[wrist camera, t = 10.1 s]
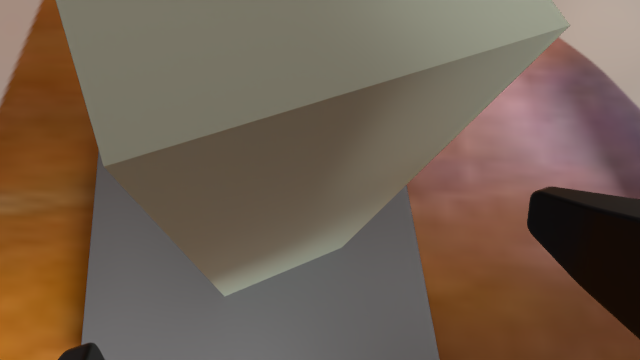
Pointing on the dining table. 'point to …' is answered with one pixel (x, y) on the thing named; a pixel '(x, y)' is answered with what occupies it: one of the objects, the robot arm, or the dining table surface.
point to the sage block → (286, 110)
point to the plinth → (254, 295)
